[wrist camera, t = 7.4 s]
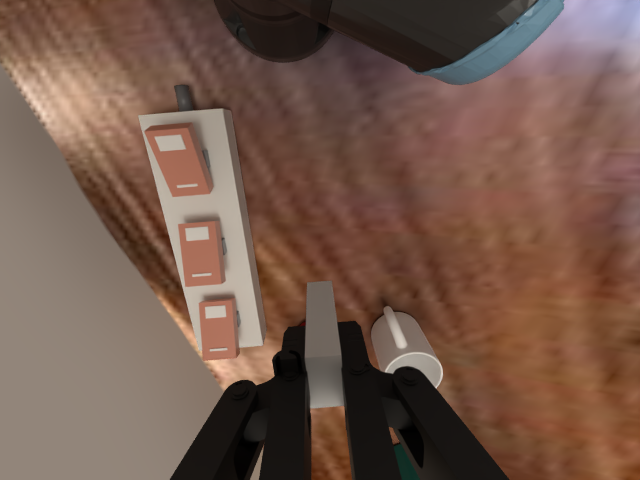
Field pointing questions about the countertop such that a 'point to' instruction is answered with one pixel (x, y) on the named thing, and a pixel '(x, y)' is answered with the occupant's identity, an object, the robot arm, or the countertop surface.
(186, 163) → the block
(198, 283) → the rocker
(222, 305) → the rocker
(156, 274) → the countertop surface
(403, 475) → the green bottle
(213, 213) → the power strip
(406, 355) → the mug
